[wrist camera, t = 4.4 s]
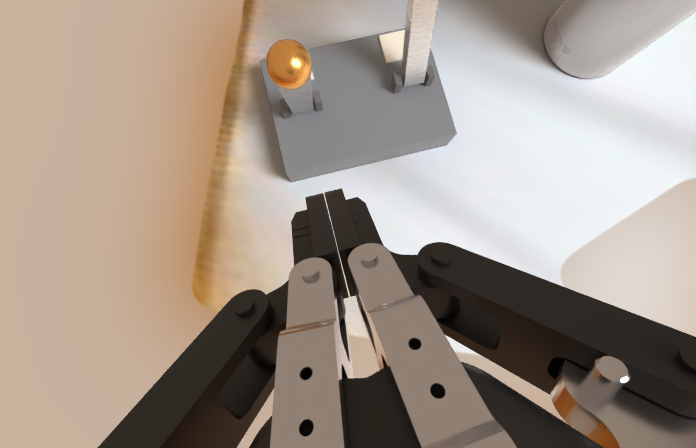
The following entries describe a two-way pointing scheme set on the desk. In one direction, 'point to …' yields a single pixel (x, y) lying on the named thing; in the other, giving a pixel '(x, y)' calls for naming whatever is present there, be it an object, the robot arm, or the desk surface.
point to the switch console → (360, 109)
